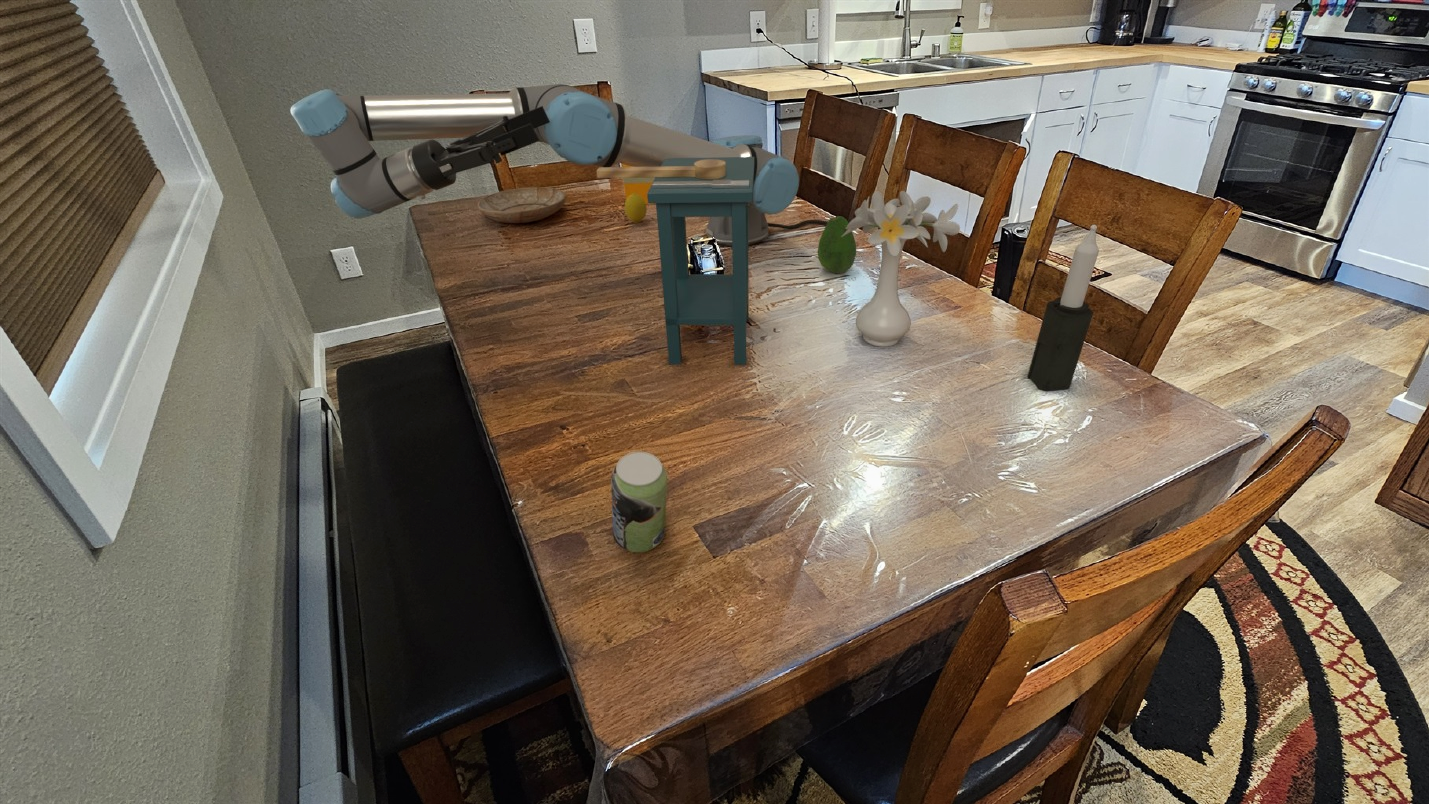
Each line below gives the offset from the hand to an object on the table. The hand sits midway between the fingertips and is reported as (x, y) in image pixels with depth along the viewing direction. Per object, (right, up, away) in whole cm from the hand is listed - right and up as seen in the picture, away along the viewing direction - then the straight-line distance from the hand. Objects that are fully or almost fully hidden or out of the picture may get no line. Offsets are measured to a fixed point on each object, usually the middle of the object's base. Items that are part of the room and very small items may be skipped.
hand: (540, 122), depth 108 cm
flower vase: (+58, -35, +9) cm, 68 cm away
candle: (+81, -43, -5) cm, 91 cm away
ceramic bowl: (-23, +5, +72) cm, 76 cm away
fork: (+27, -14, -12) cm, 33 cm away
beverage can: (+20, -62, -31) cm, 72 cm away
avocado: (+54, -18, +33) cm, 66 cm away
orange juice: (+8, +12, +81) cm, 82 cm away
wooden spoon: (+20, -11, -7) cm, 24 cm away
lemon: (+8, 0, +64) cm, 64 cm away
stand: (+28, -35, +10) cm, 46 cm away
